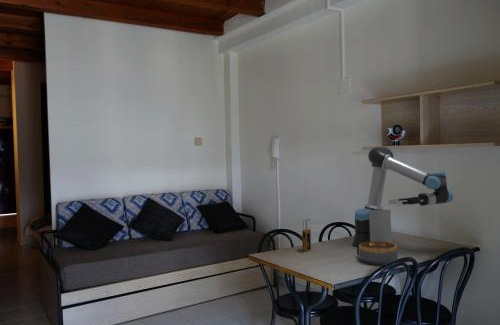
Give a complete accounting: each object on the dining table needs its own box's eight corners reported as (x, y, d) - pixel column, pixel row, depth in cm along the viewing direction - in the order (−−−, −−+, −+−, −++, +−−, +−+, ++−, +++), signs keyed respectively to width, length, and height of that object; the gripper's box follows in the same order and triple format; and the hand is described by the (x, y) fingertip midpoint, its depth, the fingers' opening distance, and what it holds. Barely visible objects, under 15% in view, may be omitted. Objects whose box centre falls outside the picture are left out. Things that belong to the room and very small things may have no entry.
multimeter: (299, 246, 287) (298, 216, 287) (313, 248, 282) (312, 217, 281) (289, 251, 275) (288, 219, 274) (304, 253, 269) (303, 220, 269)
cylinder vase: (393, 252, 258) (391, 210, 260) (371, 252, 261) (369, 210, 263) (391, 250, 271) (389, 209, 273) (370, 250, 273) (368, 210, 275)
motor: (347, 258, 253) (347, 243, 253) (373, 253, 264) (373, 238, 264) (379, 267, 233) (379, 251, 233) (405, 261, 244) (405, 245, 243)
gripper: (436, 206, 256) (401, 210, 255) (418, 204, 281) (386, 207, 280) (435, 193, 256) (399, 197, 255) (416, 192, 281) (384, 196, 280)
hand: (392, 203), depth 267 cm, fingers open, 13 cm apart
